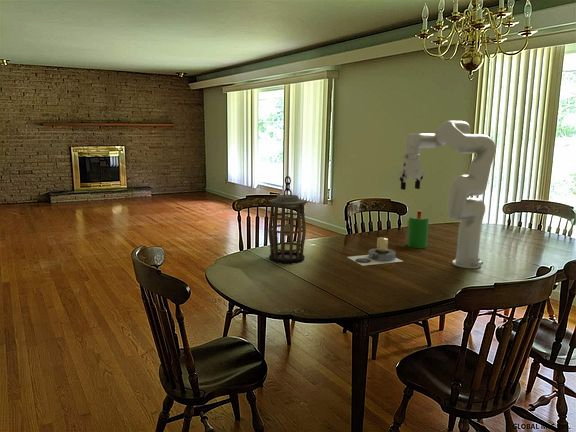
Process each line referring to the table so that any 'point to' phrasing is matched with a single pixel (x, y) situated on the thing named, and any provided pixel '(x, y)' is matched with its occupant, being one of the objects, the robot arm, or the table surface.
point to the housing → (382, 255)
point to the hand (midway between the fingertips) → (410, 189)
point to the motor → (418, 231)
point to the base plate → (370, 260)
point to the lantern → (287, 228)
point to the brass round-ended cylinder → (382, 245)
